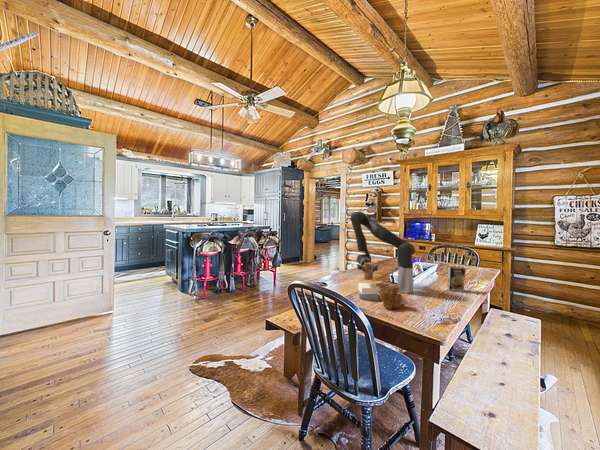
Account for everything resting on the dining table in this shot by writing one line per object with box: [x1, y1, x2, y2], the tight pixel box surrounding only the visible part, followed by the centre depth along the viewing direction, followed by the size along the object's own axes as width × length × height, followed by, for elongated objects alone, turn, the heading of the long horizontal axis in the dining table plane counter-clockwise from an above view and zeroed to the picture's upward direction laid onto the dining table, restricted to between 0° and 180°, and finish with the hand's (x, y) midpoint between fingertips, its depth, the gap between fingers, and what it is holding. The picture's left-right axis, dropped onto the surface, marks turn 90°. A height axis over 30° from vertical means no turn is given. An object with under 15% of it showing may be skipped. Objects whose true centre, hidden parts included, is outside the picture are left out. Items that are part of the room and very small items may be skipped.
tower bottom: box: [357, 289, 379, 301], centre depth 165 cm, size 11×11×4 cm
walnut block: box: [363, 261, 374, 281], centre depth 164 cm, size 5×5×10 cm
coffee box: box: [446, 266, 466, 293], centre depth 178 cm, size 9×6×16 cm
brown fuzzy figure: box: [378, 283, 406, 310], centre depth 148 cm, size 10×14×13 cm
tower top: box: [357, 282, 379, 295], centre depth 165 cm, size 10×10×4 cm
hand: (368, 270), depth 161 cm, fingers closed on walnut block, 5 cm apart
